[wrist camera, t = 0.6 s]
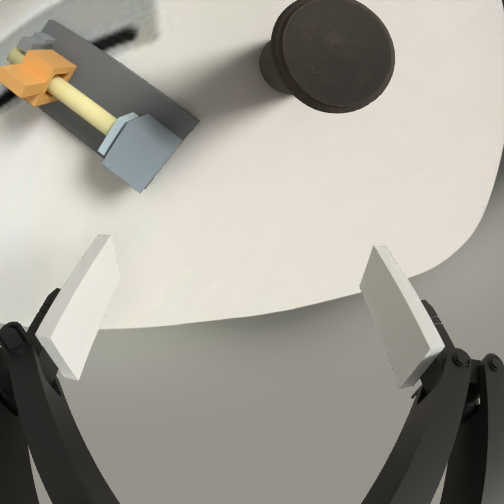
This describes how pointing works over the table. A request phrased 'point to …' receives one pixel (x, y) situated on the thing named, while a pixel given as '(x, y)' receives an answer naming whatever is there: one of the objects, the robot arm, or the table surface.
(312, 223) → the table surface
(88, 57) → the cord rig
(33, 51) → the sleeve
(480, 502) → the robot arm
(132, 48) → the table surface
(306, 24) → the container
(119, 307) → the table surface
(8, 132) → the table surface
